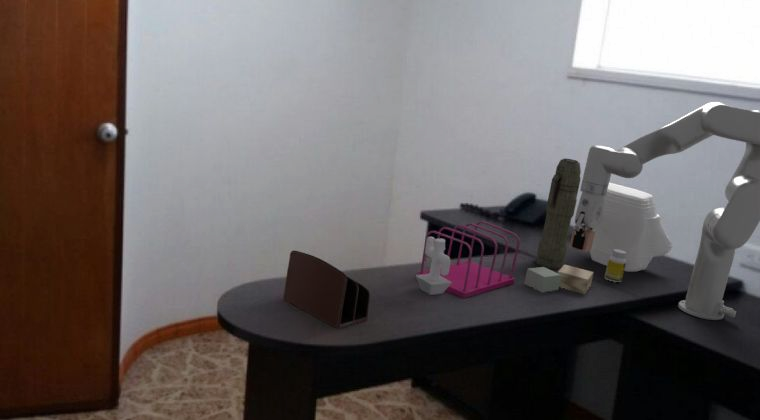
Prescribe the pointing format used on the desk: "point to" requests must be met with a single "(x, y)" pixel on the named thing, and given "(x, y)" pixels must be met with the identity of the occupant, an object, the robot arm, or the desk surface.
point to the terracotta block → (588, 240)
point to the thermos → (559, 214)
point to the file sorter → (473, 265)
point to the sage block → (542, 279)
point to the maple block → (575, 278)
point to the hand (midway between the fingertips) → (580, 246)
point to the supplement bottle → (616, 266)
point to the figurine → (435, 268)
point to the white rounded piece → (629, 229)
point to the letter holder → (325, 291)
